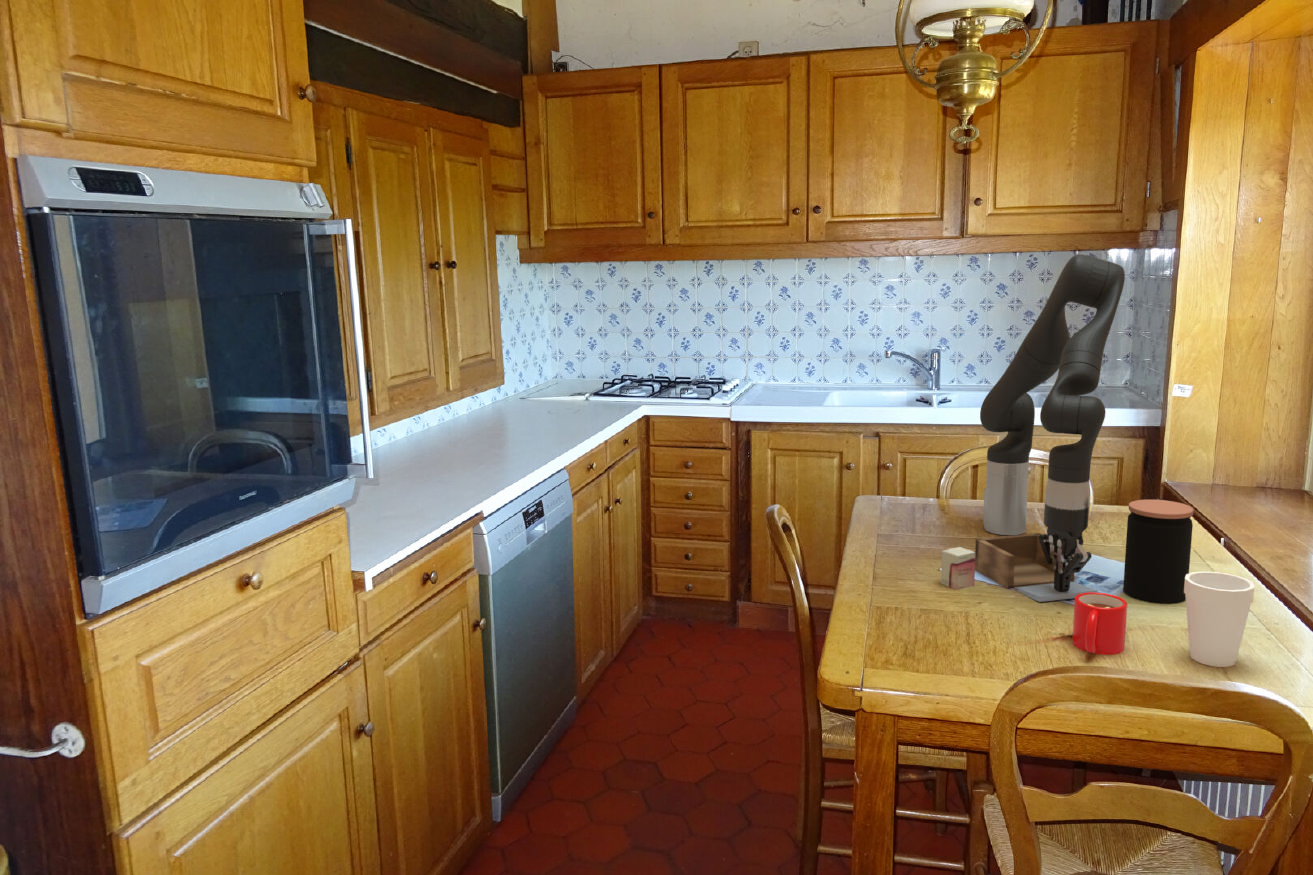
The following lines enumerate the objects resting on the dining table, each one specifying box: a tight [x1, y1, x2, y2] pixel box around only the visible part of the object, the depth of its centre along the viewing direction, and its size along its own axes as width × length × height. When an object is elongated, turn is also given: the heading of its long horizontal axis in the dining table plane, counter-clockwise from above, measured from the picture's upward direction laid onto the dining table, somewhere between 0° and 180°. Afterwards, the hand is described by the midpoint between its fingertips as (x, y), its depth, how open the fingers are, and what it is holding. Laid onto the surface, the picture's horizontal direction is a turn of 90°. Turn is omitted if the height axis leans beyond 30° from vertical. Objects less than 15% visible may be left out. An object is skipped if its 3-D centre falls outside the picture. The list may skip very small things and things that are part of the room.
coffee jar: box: [1122, 499, 1195, 605], centre depth 171 cm, size 11×11×18 cm
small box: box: [940, 546, 976, 590], centre depth 180 cm, size 5×4×8 cm
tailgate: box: [1013, 581, 1098, 603], centre depth 174 cm, size 1×12×8 cm
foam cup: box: [1184, 570, 1255, 668], centre depth 145 cm, size 10×9×13 cm
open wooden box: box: [974, 532, 1075, 590], centre depth 184 cm, size 12×14×8 cm
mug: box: [1071, 592, 1128, 656], centre depth 150 cm, size 8×12×8 cm, turn 147°
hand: (1061, 590), depth 172 cm, fingers closed
